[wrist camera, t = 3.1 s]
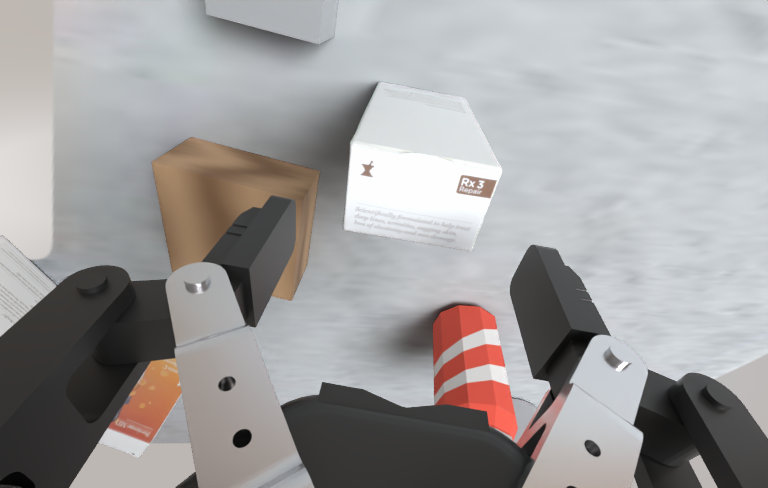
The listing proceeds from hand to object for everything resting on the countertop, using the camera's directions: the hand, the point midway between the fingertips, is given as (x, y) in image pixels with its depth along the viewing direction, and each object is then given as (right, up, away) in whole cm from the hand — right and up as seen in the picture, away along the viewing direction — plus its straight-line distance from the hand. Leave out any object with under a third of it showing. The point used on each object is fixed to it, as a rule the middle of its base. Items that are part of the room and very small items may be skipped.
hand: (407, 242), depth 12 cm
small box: (-29, -14, +33) cm, 46 cm away
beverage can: (+7, -8, +23) cm, 26 cm away
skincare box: (+2, +9, +12) cm, 15 cm away
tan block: (-12, +3, +18) cm, 22 cm away
